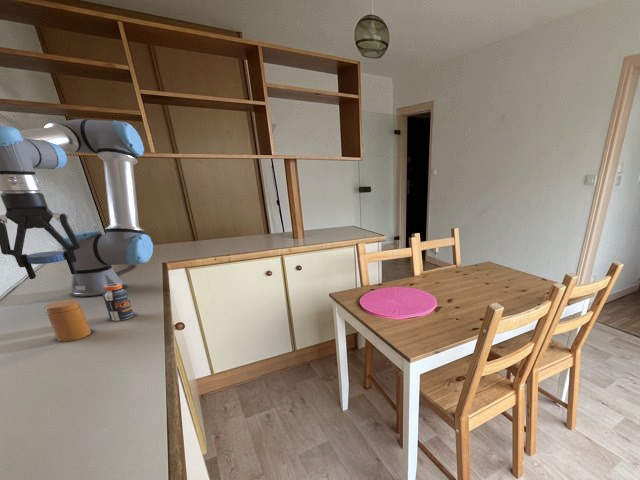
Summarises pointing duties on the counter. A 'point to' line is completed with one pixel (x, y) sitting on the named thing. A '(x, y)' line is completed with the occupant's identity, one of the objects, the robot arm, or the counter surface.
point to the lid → (46, 257)
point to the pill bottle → (117, 302)
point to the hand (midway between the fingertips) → (54, 275)
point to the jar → (67, 320)
